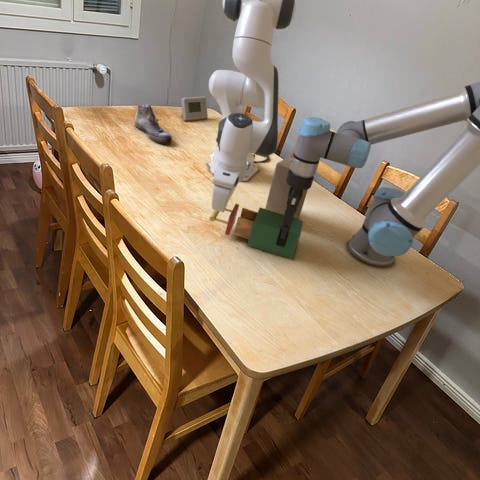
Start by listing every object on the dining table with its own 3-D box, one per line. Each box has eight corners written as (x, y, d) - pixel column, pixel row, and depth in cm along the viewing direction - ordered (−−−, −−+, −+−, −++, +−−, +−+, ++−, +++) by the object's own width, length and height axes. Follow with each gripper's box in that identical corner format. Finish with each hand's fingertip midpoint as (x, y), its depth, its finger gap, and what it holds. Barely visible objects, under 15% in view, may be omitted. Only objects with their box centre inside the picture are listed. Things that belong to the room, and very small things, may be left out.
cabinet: (247, 245, 136) (253, 221, 131) (253, 229, 144) (259, 207, 140) (291, 259, 135) (300, 235, 130) (295, 242, 143) (303, 220, 139)
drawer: (207, 228, 137) (211, 210, 133) (214, 216, 144) (218, 198, 140) (265, 247, 136) (271, 228, 132) (269, 233, 143) (275, 215, 139)
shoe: (175, 145, 192) (178, 118, 185) (151, 146, 186) (153, 118, 180) (154, 124, 209) (157, 98, 202) (132, 124, 203) (133, 97, 197)
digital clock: (183, 121, 220) (185, 100, 214) (174, 115, 226) (177, 94, 220) (210, 121, 229) (214, 100, 223) (202, 115, 235) (205, 95, 229)
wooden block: (287, 226, 151) (303, 173, 140) (262, 215, 155) (276, 162, 144) (299, 217, 159) (315, 166, 148) (275, 206, 162) (289, 155, 152)
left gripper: (228, 154, 139) (221, 193, 147) (211, 180, 122) (203, 222, 130) (247, 160, 139) (239, 198, 146) (232, 186, 122) (224, 228, 129)
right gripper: (293, 155, 135) (275, 217, 147) (284, 184, 116) (265, 252, 128) (316, 162, 135) (297, 223, 147) (311, 191, 116) (289, 259, 128)
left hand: (222, 209), depth 138 cm, fingers closed
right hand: (282, 236), depth 138 cm, fingers closed on cabinet, 10 cm apart
